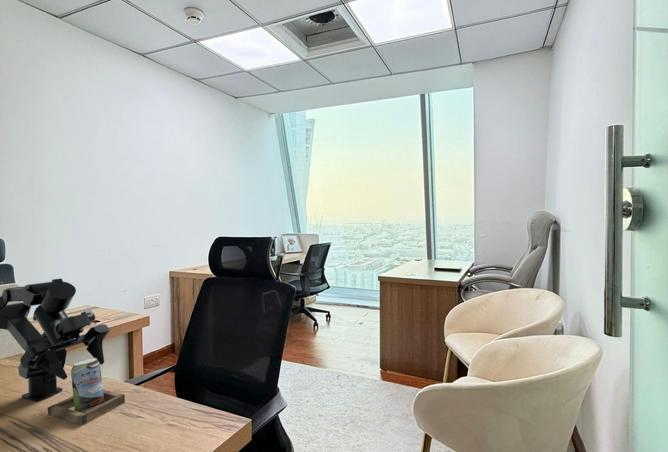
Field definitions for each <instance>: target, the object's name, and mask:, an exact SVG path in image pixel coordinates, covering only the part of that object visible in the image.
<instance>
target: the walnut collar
mask: <svg viewBox="0 0 668 452" xmlns="http://www.w3.org/2000/svg"><path fill="white" fill-rule="evenodd" d="M103 395H104V401H103V402H102V403H101V404H100V405H99V406H97V407H95V408H93V409H91V410H89V411H85V412H79V411H77V410H74V409H73V410H72V409H70V408H72V407H75V406H74V397H73V395H72V396H70V397H67V398H66V399H63V400H62V401H59V402H57V403H55V404H53V405H50V406H48V407H47V416H48V417H50V418H54V419H58V420H62V421H66V422H68V423H72V424H75V425H79V426H83V425H85V424H87V423H89V422H91V421H93V420H94V419H97V418H99V417H100V416H102V415H104V414H106V413H107V412H110V411H111V410H113V409H115V408H117V407H119V406H121V405H123V404H125V402H126V400H125V399H126V397H125V395H126V394H122V393H119V392H116V391H115V392H114V391H111V390H106V389H103Z"/></svg>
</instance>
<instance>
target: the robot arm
mask: <svg viewBox="0 0 668 452" xmlns="http://www.w3.org/2000/svg"><path fill="white" fill-rule="evenodd" d="M76 292H77V290H76V287H75V286H74V285H73V284H72V283H70V282H66V281H64V280H63V279H62V278H55V279H53V278H52V279H51V281H47V282H39V283H31V284H30V283H29V284H26V285H24V286H16V287H7V288H5V289H3V290H2V293H1V296H0V330H4V331H5V330H6V331H8V333H10V334H11V336H12V337H13V338H14V340H15V341H16V342H17V343H18V345H19V346H20V347H21V348H22V350H23V351H24V353H23V354H22V356H21V357H20V360H19V361H20V363H19V364H18V375H19V377H21V378H23V379H25V380H27V391H28V392H27V393H25V394H22V395H21V398H22V399H26V400H30V401H34V402H39V401H40V400H43V399H45V398H48V397H51V396H53V395H56V394H57V393H59V392H62V391H63V388H62V387H58V385H57V384H58V382H57V379H58V378H60V379H62V380H63V381H65V380H67V378H68V375H67V373H66V370H65V369H64V368H65V364H66V358H67V354H68V353H67V352H68V350H67V349H68V348H71V347H74V346H76V345H80V344H82V343H83V345H84V346H86V351H87V352H88V353H89V354H90V355H91V356H92V357H93V358H97V361H99V363H100V366H102V365H103V364H104V363H105V358H104V357H105V356H104V350H103V341H104V339H105V338H106V336H108V334H109V333H110V332H111V330H110V328H109V326H108V325H107V324H104V323H103V324H98V325H95V326H93V327H90V328H89V329H88V330H87V332H86V333H84V334H82V333H83V332H84V331H85V329H84V328H86V327H88V326H91V325H92V322H95V321H96V315H95V313H94V312H93V311H92V310H91V309H87V310H84V311H82V312H80V314H76V315H72V316H71V315H70V316H68V314H67V313H66V311H65V310H67V309H68V308H69V306H70V304H71V302H72V300H73V298H74V297H75V295H76ZM10 302H16V303H11V304H9V303H10ZM32 306H33V307H36V306H37V307H36V308H35V310H34V312H33V315H32V320H33V322H36V321H37V322H38V324H39V326H40V327H41V329H42V331H43V333H40V331H39V330H38V329H37V328H36V327H35V326H34V324H33V323H32V322H31V321H30V320H29V319H28V316H29V314H30V311H31V308H32ZM81 334H82V335H81ZM57 377H58V378H57Z"/></svg>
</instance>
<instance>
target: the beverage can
mask: <svg viewBox="0 0 668 452" xmlns="http://www.w3.org/2000/svg"><path fill="white" fill-rule="evenodd" d="M101 368H102V367H101V364H100V363H99V361H97V358H94V357H93V358H91V357H90V358H87V359H83V360H80V361H78V362H75V363H73V364H72V367H71V370H70V376H71V385H72V396H73V397H74V406H73V407H74V411H77V412H81V413H85V412H87V411H89V410H91V409H93V408H95V407H97V406H99V405H100V404H102V403H104V402H105V401H104V395H103V390H104V387H103V377H102V370H101Z"/></svg>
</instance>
